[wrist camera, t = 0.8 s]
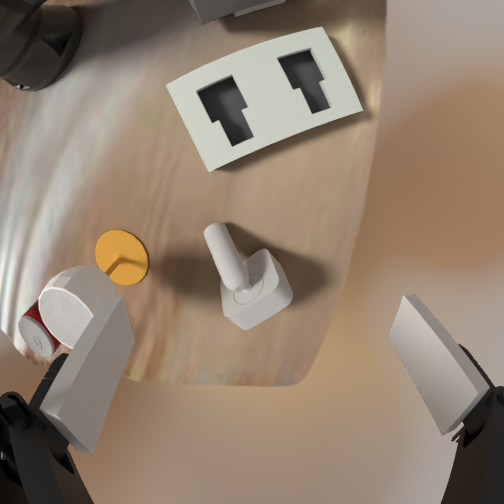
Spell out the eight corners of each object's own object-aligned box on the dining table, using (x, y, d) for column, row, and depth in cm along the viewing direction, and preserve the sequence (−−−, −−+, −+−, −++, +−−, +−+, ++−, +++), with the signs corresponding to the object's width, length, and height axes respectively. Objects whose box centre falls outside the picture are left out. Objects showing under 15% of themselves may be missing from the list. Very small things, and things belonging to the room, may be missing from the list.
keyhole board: (172, 89, 29) (165, 84, 26) (315, 34, 26) (321, 26, 23) (211, 169, 33) (208, 172, 30) (353, 112, 30) (363, 110, 27)
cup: (160, 268, 38) (121, 341, 23) (119, 293, 40) (75, 362, 25) (124, 217, 35) (61, 268, 20) (86, 248, 36) (25, 303, 22)
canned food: (60, 321, 42) (34, 357, 32) (43, 285, 39) (10, 318, 29) (88, 319, 42) (61, 359, 32) (70, 281, 39) (36, 317, 28)
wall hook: (232, 202, 34) (243, 245, 26) (276, 253, 40) (296, 300, 32) (185, 239, 36) (182, 289, 28) (232, 283, 41) (242, 334, 33)
